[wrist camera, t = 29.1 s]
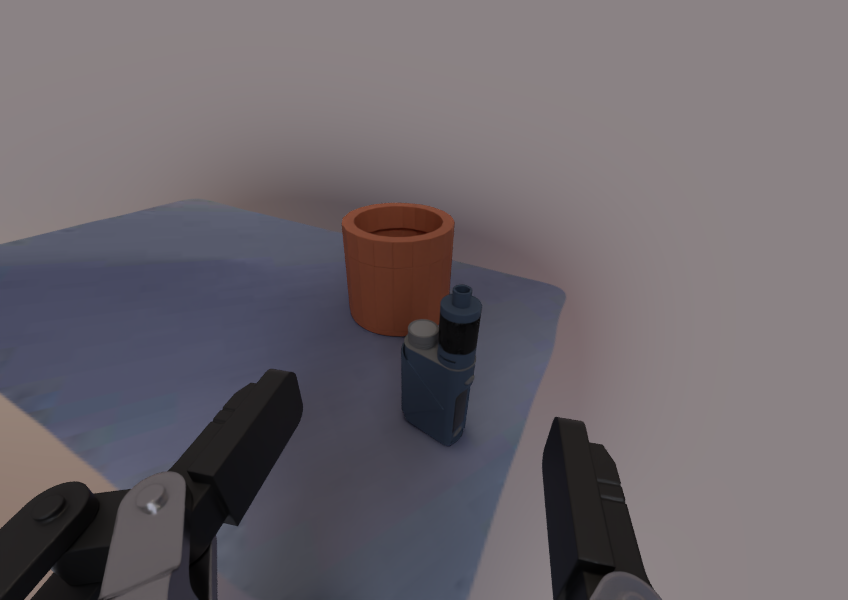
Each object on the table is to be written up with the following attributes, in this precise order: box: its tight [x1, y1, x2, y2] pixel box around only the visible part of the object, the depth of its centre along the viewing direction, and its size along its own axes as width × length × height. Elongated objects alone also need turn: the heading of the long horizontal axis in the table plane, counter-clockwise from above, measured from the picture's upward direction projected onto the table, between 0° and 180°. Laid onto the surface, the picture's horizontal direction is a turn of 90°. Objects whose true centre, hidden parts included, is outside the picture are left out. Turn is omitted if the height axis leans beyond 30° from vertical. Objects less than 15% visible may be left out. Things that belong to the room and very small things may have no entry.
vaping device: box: [401, 285, 482, 446], centre depth 24 cm, size 3×5×12 cm, turn 53°
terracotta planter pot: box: [342, 203, 454, 336], centre depth 37 cm, size 11×11×10 cm
